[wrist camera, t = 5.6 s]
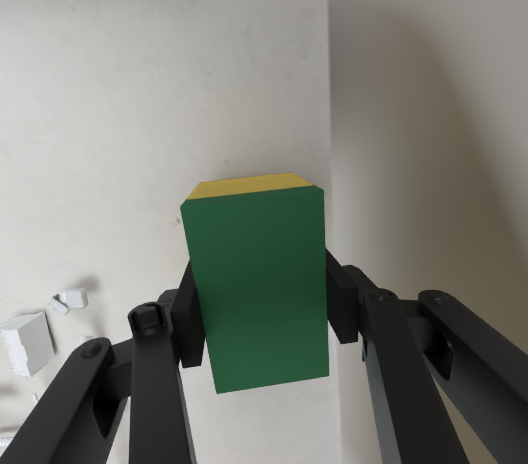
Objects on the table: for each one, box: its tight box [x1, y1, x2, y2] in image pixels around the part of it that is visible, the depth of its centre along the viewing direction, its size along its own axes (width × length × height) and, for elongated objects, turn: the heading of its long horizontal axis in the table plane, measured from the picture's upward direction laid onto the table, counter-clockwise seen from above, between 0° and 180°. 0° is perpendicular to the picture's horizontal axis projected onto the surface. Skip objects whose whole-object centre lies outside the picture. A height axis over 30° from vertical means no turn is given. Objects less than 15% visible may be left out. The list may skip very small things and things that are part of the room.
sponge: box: [180, 173, 329, 394], centre depth 17 cm, size 10×6×7 cm, turn 5°
